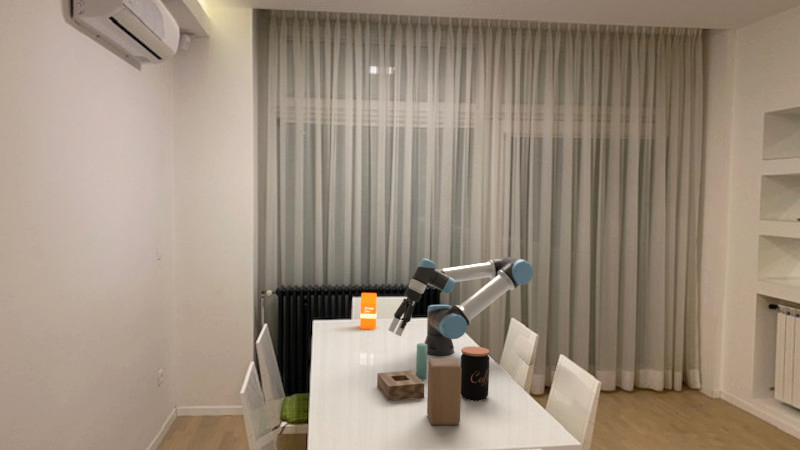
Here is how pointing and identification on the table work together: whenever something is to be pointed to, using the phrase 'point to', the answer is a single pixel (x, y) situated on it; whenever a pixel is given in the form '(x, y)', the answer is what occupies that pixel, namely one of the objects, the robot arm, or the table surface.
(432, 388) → the wooden block
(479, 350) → the coffee jar
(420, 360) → the pin
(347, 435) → the table surface
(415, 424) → the table surface
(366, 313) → the orange juice
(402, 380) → the socket block
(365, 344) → the table surface
